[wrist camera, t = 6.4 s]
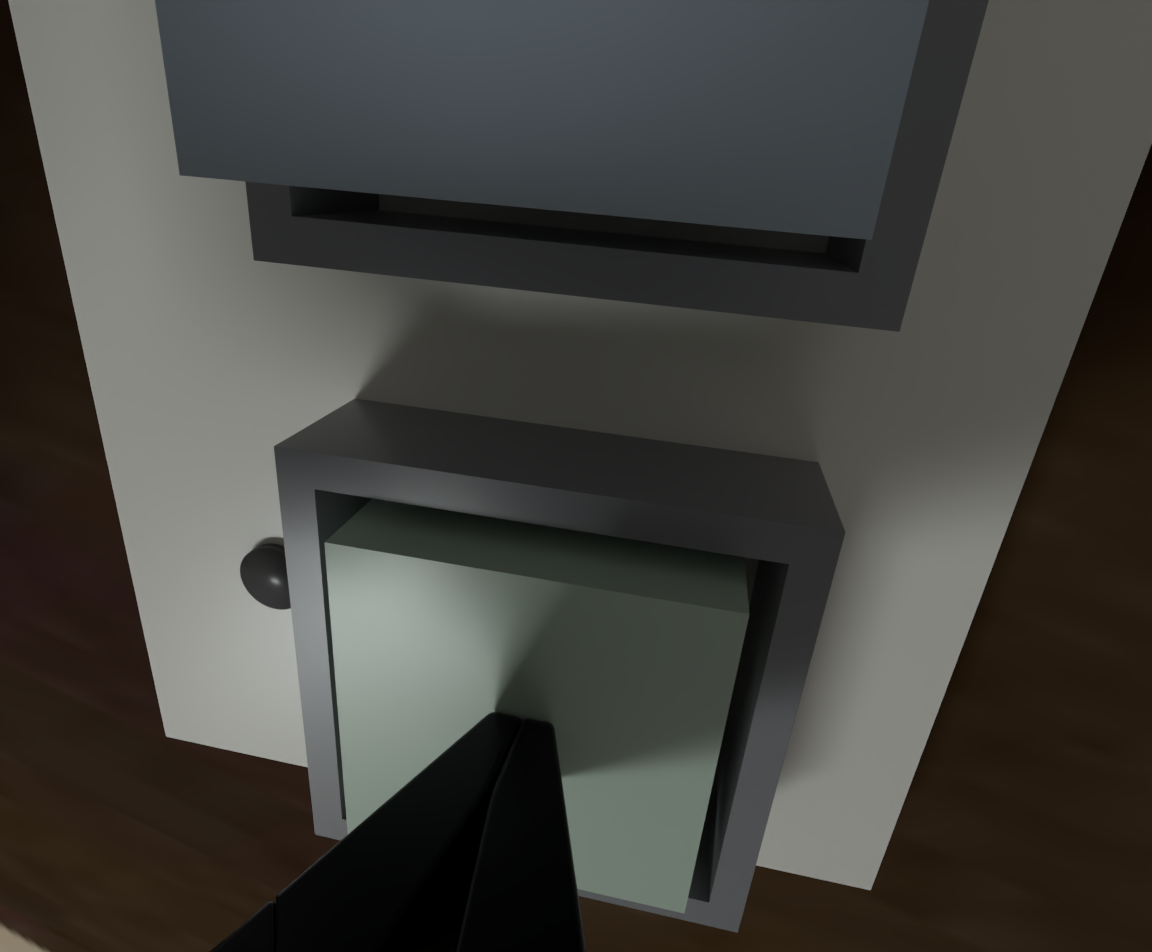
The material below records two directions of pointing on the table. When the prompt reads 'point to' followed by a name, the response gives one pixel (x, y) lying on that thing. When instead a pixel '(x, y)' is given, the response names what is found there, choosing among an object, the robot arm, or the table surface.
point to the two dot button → (554, 102)
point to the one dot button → (542, 672)
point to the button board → (600, 399)
